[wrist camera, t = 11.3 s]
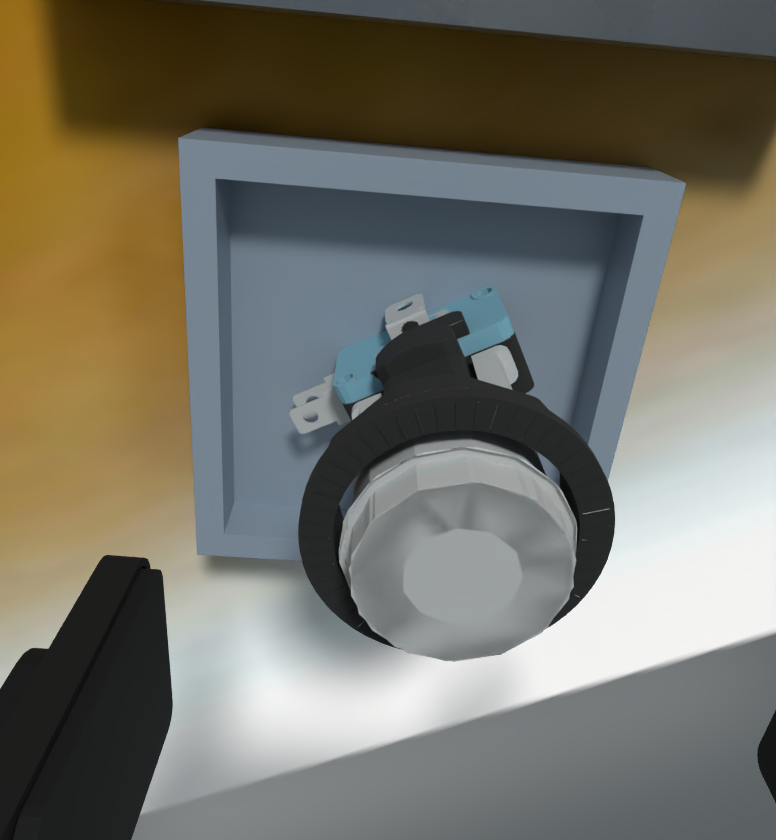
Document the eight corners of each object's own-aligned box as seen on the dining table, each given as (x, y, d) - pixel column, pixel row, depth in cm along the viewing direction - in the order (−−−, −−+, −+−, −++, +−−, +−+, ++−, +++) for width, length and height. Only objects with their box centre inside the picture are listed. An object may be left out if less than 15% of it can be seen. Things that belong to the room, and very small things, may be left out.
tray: (649, 166, 19) (686, 182, 17) (563, 529, 24) (581, 578, 22) (202, 126, 18) (178, 138, 16) (214, 507, 24) (197, 554, 21)
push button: (338, 469, 22) (310, 754, 13) (254, 317, 20) (151, 538, 11) (545, 387, 21) (670, 640, 12) (481, 216, 19) (575, 370, 10)
